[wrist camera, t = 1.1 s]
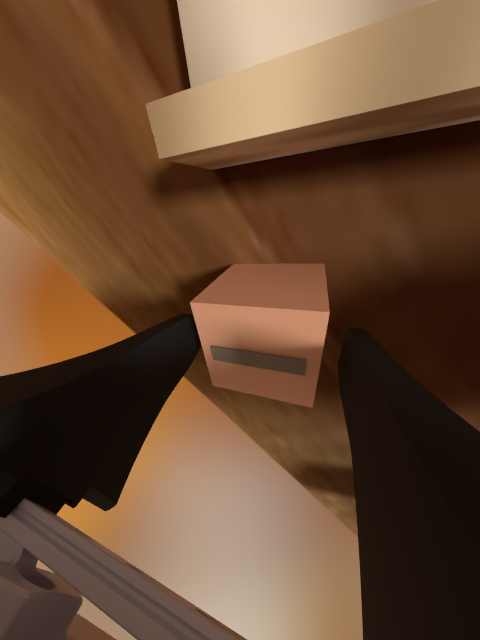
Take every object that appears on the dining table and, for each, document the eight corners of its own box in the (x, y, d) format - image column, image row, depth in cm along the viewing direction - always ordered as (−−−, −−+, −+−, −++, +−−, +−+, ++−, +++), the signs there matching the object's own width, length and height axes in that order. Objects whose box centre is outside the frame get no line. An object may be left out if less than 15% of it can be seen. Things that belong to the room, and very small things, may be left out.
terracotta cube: (324, 262, 10) (329, 313, 6) (313, 339, 12) (312, 410, 8) (233, 263, 11) (188, 303, 7) (241, 330, 14) (211, 387, 10)
